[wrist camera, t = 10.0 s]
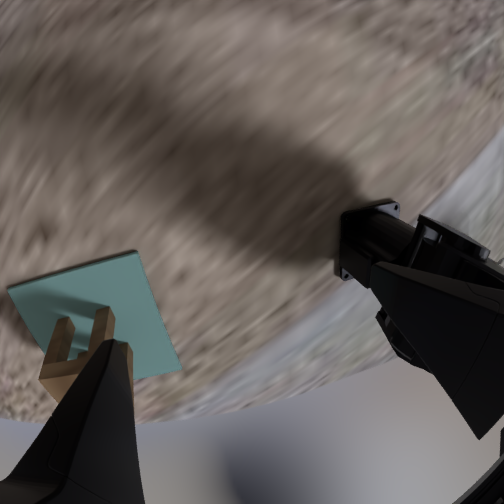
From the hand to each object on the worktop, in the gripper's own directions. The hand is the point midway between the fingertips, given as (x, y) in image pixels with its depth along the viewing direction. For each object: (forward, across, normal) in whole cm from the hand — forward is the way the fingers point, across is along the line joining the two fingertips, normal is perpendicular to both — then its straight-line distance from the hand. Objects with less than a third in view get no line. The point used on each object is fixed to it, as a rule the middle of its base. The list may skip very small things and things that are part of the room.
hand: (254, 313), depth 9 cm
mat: (+12, +11, +8) cm, 18 cm away
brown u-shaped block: (+12, +11, +8) cm, 18 cm away
